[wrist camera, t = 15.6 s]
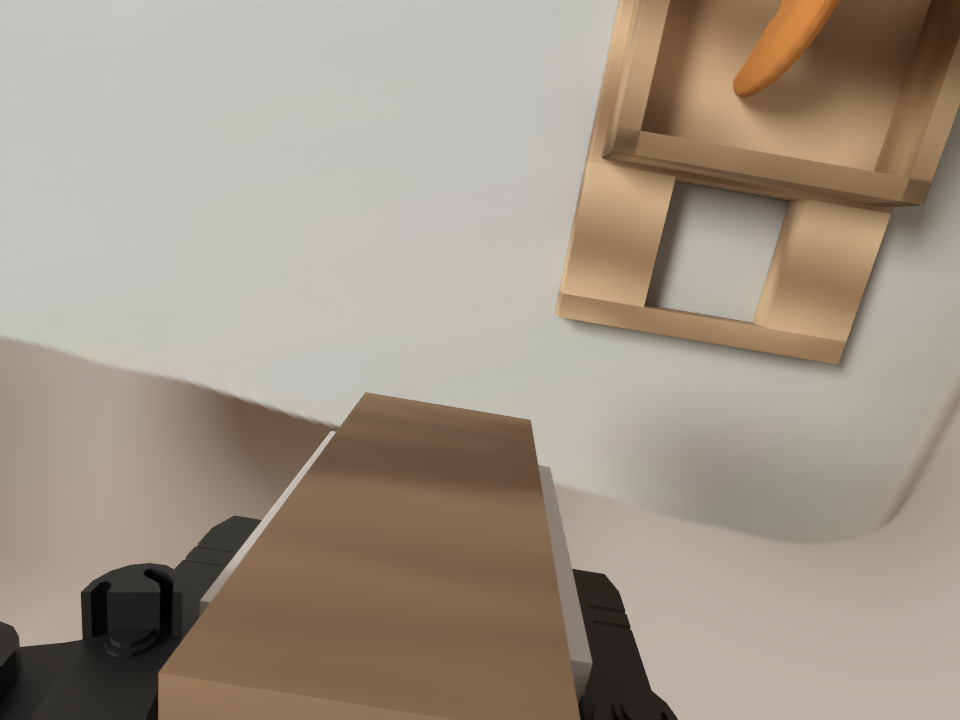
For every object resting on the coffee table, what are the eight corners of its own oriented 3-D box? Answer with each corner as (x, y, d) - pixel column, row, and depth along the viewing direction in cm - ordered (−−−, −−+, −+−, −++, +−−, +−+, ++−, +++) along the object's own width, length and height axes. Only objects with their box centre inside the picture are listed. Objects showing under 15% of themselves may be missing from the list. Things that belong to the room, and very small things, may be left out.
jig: (659, -197, 23) (692, -281, 19) (989, -136, 24) (1087, -207, 20) (555, 312, 29) (564, 325, 25) (821, 357, 29) (870, 378, 25)
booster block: (365, 392, 14) (158, 672, 5) (530, 419, 14) (583, 739, 6) (349, 536, 15) (157, 954, 7) (501, 561, 15) (508, 1006, 7)
